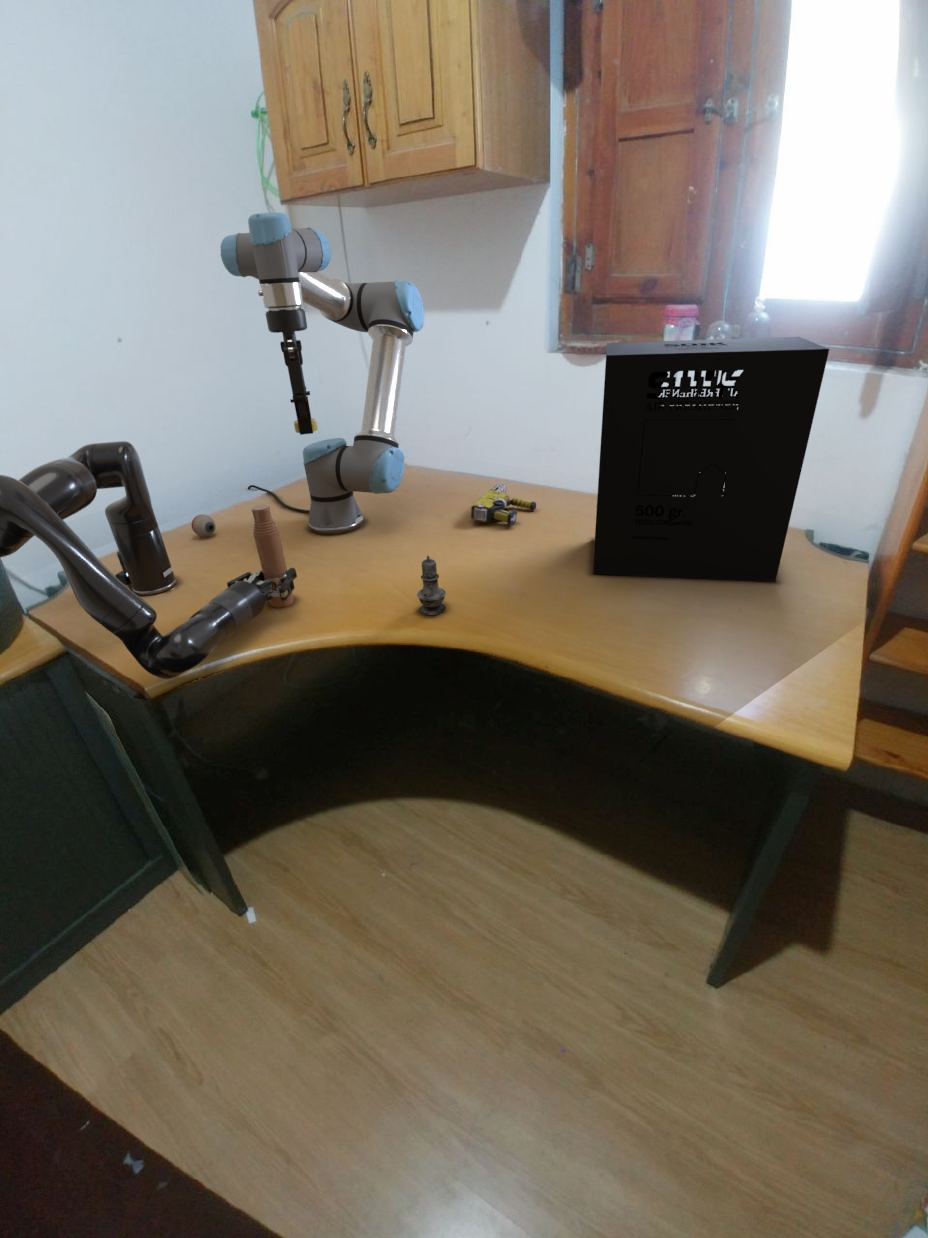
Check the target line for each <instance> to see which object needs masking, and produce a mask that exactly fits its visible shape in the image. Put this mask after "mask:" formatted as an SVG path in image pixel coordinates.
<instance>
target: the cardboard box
mask: <svg viewBox="0 0 928 1238" xmlns="http://www.w3.org/2000/svg"><path fill="white" fill-rule="evenodd" d="M605 351H606V352H605V367H604V369H605V370H604V383H603V384H604V385H603V399H602V400H603V401H602V415H601V431H600V433H601V434H600V448H599V465H598V481H597V497H596V511H595V512H596V514H595V529H594V531H595V532H594V547H593V548H594V550H593V566H592V575H608V576H628V577H629V576H631V577H654V578H655V577H656V578H675V579H676V578H677V579H678V578H679V579H701V580H702V579H703V580H724V581H725V580H726V581H747V582H770V583H776V582H777V577H778V573H779V568H780V565H781V560H782V556H783V552H784V547H785V543H786V538H787V534H788V531H789V530H788V529H789V525H790V521H791V518H792V517H791V516H792V514H793V513H792V512H793V508H794V504H795V500H796V496H797V491H798V488H799V482H800V477H801V474H802V470H803V465H804V460H805V456H806V453H807V448H808V444H809V440H810V435H811V431H812V427H813V422H814V418H815V414H816V409H817V405H818V400H819V397H820V391H821V387H822V383H823V380H824V379H823V378H824V375H825V370H826V366H827V363H828V362H827V361H828V358H829V353H830V348H828V347H826V346H824V345H820V344H819V343H815V342H813V341H811V340H808V339H805V338H803V337H800V336H780V337H778V336H775V337H749V338H748V337H747V338H745V337H744V338H721V339H720V338H717V339H716V338H715V339H689V340H688V339H687V340H684V339H683V340H657V341H655V340H654V341H628V342H627V341H626V342H624V341H623V342H607V343H606V349H605ZM720 371H721V372H720ZM737 371H742V372H740V374H739V375H734V374H735V373H736V372H737ZM678 372H682V376H681V377H680V382H679V385H677V386H676V382H677V377H676V374H677V373H678ZM689 372H694V373H693V382H695V385H691V384H692V376H689ZM702 372H705V375H704V376H702V374H703V373H702ZM719 375H720V379H719ZM724 375H725V377H724ZM723 378H724V382H734V383H733V385H725V384H723ZM705 382H710V385H704V384H705ZM664 383H665V384H666V383H667V386H663V385H664Z"/></svg>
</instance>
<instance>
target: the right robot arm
mask: <svg viewBox="0 0 928 1238" xmlns="http://www.w3.org/2000/svg"><path fill="white" fill-rule="evenodd" d="M247 224H248V229H249V230H248V232H237V233H235V234H229V235H227V236H225V237H224V238H223V239H222V240H221V242H220V258H221V262H222V264H223V266H224V268H225V269H226V270H227V272H228V273H229V274H231V275H232V276H234V277H240V278H241V277H242V278H247V277H252V278H254V279H256V280H258V283H259V286H260V289H261V290H258V291H257V295H258V296H259V297H262V302H263V307H264V308H265V309H267V310H266V311H265V319H266V324H267V329H268V331H269V332H270V333H273V334H274V333H276V334H279V333H282V338H283V341H280V343H279V344H280V350H281V352H282V354H283V359H284V365H285V366H286V367H287V371H288V376H289V381H290V387H291V393H292V398H291V399H289V401H290V403H291V404H292V403H293V404H294V409H295V415H296V420H298V426H299V431H300V433H299V435H300V436H303V435H310V434H314V432H313V429H312V423H311V418H312V414H311V407H310V403H309V396H311V391H310V390H307V386H306V383H305V376H304V371H303V364H304V359H303V353H302V350H303V347H302V341H301V339H297V335H296V332H302V331H305V330H307V329H308V323H307V317H306V310H304V309H303V308H302V306H304V304H306V305H309V306H310V307H313V309H316V310H318V311H319V313H320V314H321V315H322V316H323V317H324V318H325V319H327V320H329V321H331V322H333V323H334V324H337V325H339V326H341V327H345V328H347V329H349V330H353V331H356V332H361V333H367V334H368V336H369V337H370V339H371V340H372V344H371V352H370V359H369V367H368V375H367V382H366V390H365V398H364V407H363V413H362V421H361V429H360V431H359V432H358V433H356V434H355V435H354V437H353V445H347V441H346V439H345V438H342V437H334V438H328V439H323V440H320V441H319V440H318V441H316V442H313V443H309V444H308V445H306V446H305V447H304V448H303V450H302V457H303V458H302V460H303V467H304V471H305V477H306V481H307V486H308V492H309V498H310V507H309V509H302V508H297V507H293V506H291V505H288V504H286V503H285V502H283V501H282V500H281V499H280V498H279V497H278V496H277V494H275V493H274V492H272V491H271V490H270V489H267V488H262V487H260V486H258V485H255V484H251V485H249V486H248V487H247V490H250V489H251V488H254V489H257V490H258V491H260V492H261V491H262V492H264V493H267V494H270V495H272V496H273V498H275V499H276V500H277V502H278V503H280V504H281V506H283V507H284V508H286V509H288V510H290V511H291V510H292V511H295V512H300V513H308V521H307V524H308V528H309V529H308V530H310V531H311V532H312V533H314V534H317V535H323V536H324V535H325V536H327V535H329V536H331V535H339V534H340V535H341V534H345V533H350V532H353V531H355V530H357V529H359V528H361V527H362V526H363V525H364V523H365V519H364V514H363V512H362V510H361V508H360V505H359V504H358V501H357V500H356V498H355V495H354V493H355V492H356V493H371V494H375V495H380V494H390V493H393V492H395V491H396V490H397V489H398V487H400V485H401V483H402V481H403V478H404V475H405V469H406V462H405V455H404V453H403V450H401V449H400V448H399V447H400V444H399V442H398V441H397V439H396V438H395V432H396V425H397V418H398V417H397V416H398V409H399V403H400V402H399V401H400V393H401V387H402V380H403V379H402V377H403V371H404V364H405V355H406V349H407V347H408V346H409V345H411V344H412V343H413V339H414V333H418V332H420V331H421V330H422V329H423V327H424V324H425V310H424V309H425V308H424V304H423V300H422V296H421V294H420V291H419V289H418V287H417V286H416V285H415V284H414V283H413V282H412V281H409V280H398V279H396V280H395V281H376V282H375V281H374V282H356V283H355V282H354V283H353V282H351V283H349V282H344V281H342V280H340V279H339V278H338V279H337V278H331V279H330V278H329V277H327V276H326V275H324V274H322V273H320V272H321V271H324V270H325V269H327V268H328V266H329V264H330V262H331V260H332V247H331V244H330V241H329V239H328V238H327V236H326V235H325V234H324V233H323V232H322V231H320V230H318V229H314V228H311V227H305V228H304V227H292V224H291V221H290V218H289V216H288V215H287V214H286V213H284V212H260V213H254V214H251V215H250V216H249V217H248V219H247Z"/></svg>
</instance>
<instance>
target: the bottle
mask: <svg viewBox="0 0 928 1238" xmlns="http://www.w3.org/2000/svg"><path fill="white" fill-rule="evenodd" d="M270 508H271V507H270V505H269V504H266V503H265V504H264V503H262V504H261V503H260V504H256V505H254V506H252V507H251V513H252V516H253V526H252V534H253V538H254V543H255V546H256V551H257V555H258V559H259V563H260V567H261V570H262V572H263V576H264V580H267V579H269V578H271V577H275V578H277V577H279V576H281V575H282V574H284V573H285V572H286V571H288V566H287V563H286V558H285V554H284V550H283V549H284V548H283V545H282V540H281V534H280V531H279V528H278V525H277V523H276V522H275V520H274V518H273V517H272V513H271V509H270ZM272 585H273V582H272ZM279 585H282V580H281V581H280V582H279ZM273 589H274V587H273ZM294 601H295V599H294V594H293V592H292V593H291V594H290V596H289V597H288V598H287V600H284V601H282V600H281V598H280V597H274V598H273V599H271V600H269V601H268V602H269V604H270V606H271V607H272V608H279V609H280V608H284V607H288V606H290V605H292V604H293V603H294Z"/></svg>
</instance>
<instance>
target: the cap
mask: <svg viewBox="0 0 928 1238" xmlns="http://www.w3.org/2000/svg"><path fill="white" fill-rule="evenodd" d="M311 423H312V429H313V433H314V432H317V431H318V424H317V421H316V418H312V417H311ZM293 425H294V431H295V432H296V433H297V434H300V431H299V426H298V420H297V419H296V420H294V421H293Z"/></svg>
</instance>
